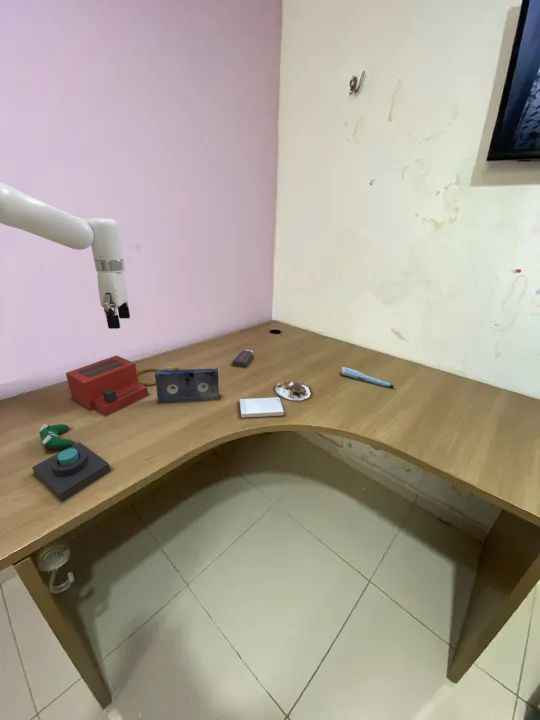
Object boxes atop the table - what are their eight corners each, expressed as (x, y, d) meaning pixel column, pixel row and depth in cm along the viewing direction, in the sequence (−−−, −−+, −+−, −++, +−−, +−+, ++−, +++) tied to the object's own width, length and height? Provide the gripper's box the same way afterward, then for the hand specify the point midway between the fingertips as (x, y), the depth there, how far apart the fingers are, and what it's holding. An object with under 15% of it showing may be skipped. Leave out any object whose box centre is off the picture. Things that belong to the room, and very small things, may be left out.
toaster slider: (104, 400, 88) (102, 391, 87) (112, 397, 90) (110, 388, 89) (109, 403, 87) (107, 394, 86) (117, 399, 89) (115, 390, 88)
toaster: (72, 399, 94) (65, 372, 90) (120, 379, 106) (116, 354, 102) (102, 417, 86) (96, 389, 82) (151, 393, 98) (147, 368, 95)
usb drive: (232, 365, 119) (232, 359, 118) (242, 353, 130) (242, 347, 128) (245, 367, 118) (245, 361, 117) (254, 355, 128) (254, 349, 127)
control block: (34, 474, 67) (29, 460, 65) (81, 449, 75) (77, 435, 73) (62, 501, 61) (57, 486, 60) (110, 470, 69) (107, 457, 67)
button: (56, 461, 66) (54, 455, 65) (73, 452, 69) (71, 446, 68) (64, 469, 64) (62, 462, 63) (82, 459, 67) (80, 452, 66)
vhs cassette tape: (219, 395, 99) (218, 367, 95) (219, 400, 97) (218, 372, 92) (159, 398, 96) (155, 369, 92) (157, 403, 94) (154, 374, 90)
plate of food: (318, 396, 101) (320, 386, 100) (287, 404, 96) (287, 393, 94) (300, 380, 110) (301, 371, 109) (270, 387, 105) (270, 377, 104)
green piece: (59, 436, 81) (35, 430, 77) (69, 424, 81) (45, 417, 77) (66, 456, 75) (40, 450, 70) (76, 443, 75) (51, 436, 71)
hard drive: (279, 396, 97) (239, 398, 95) (284, 411, 90) (241, 413, 88) (278, 401, 98) (239, 402, 96) (283, 416, 90) (241, 418, 89)
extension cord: (174, 386, 103) (173, 381, 102) (125, 386, 102) (124, 381, 101) (181, 369, 114) (180, 364, 113) (137, 369, 113) (136, 364, 112)
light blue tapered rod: (339, 375, 115) (340, 368, 114) (342, 372, 118) (343, 365, 117) (393, 390, 107) (395, 383, 106) (395, 386, 109) (396, 379, 108)
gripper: (107, 261, 95) (116, 314, 103) (82, 270, 80) (95, 332, 87) (132, 261, 96) (140, 314, 104) (113, 271, 81) (123, 332, 88)
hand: (119, 323), depth 95 cm, fingers open, 9 cm apart
